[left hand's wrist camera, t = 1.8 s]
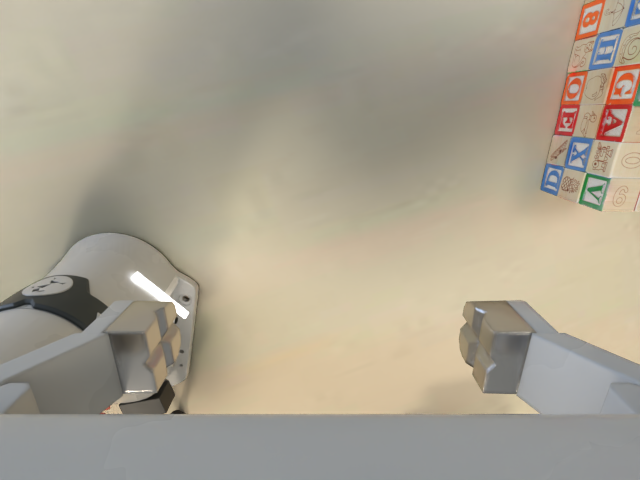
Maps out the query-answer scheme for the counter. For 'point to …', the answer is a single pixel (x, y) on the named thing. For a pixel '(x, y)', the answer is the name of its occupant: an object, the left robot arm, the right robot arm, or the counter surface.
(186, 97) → the counter surface
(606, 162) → the stack of blocks
